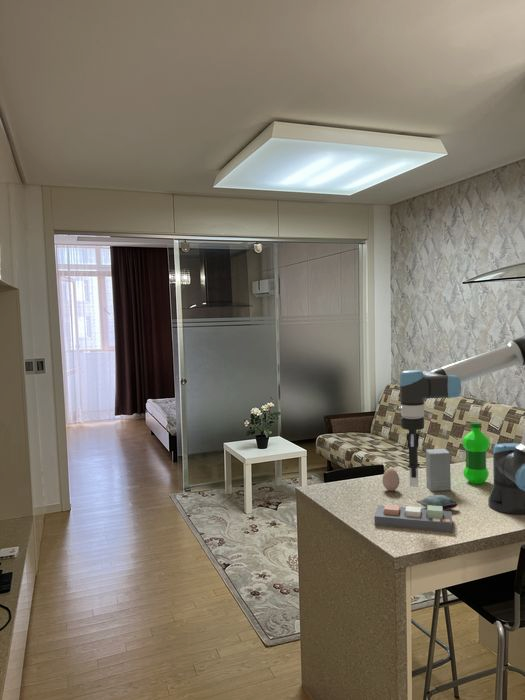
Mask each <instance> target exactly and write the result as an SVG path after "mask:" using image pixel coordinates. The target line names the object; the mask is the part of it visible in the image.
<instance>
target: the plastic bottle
mask: <svg viewBox="0 0 525 700" xmlns="http://www.w3.org/2000/svg"><path fill="white" fill-rule="evenodd" d="M469 427H470V428H471V430H470V432H468V433H467V434H466V435H465V436H464V437H463V439H462V447H463V448H464V449H465V467H464V469H463V476H464V478H465V479H466V480H467V481H468V482H469V483H470V484H474V485H481V484H483V483H484V482H486V481H487V479H488V477H489V470H488V468H487V451H488V449H489V447H490V440H489V437H488V436H486V435H485V434H484V433H483V432H482V431H481V429H482V422H479V421H478V422H477V421H471V422H470V426H469Z"/></svg>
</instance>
